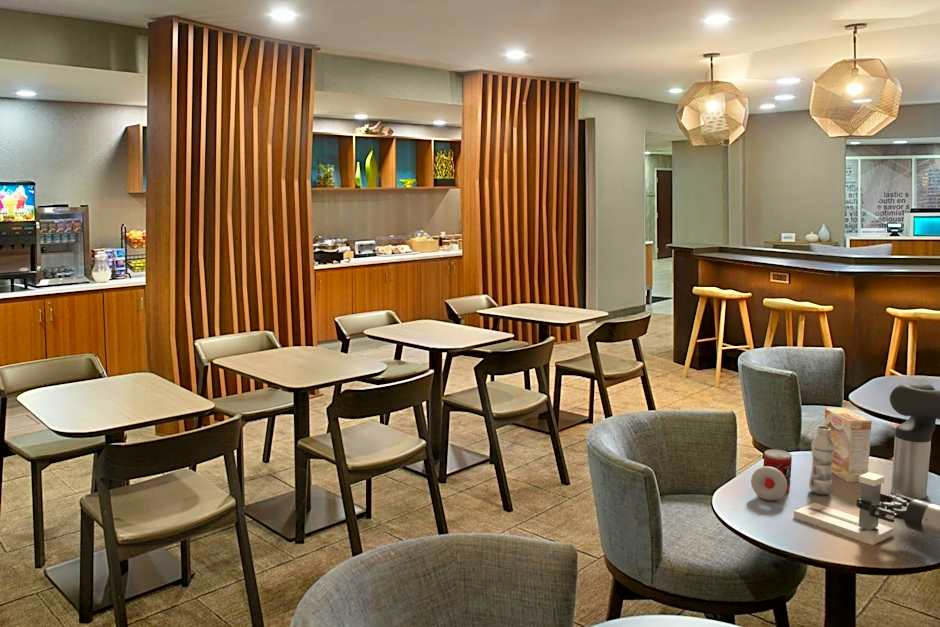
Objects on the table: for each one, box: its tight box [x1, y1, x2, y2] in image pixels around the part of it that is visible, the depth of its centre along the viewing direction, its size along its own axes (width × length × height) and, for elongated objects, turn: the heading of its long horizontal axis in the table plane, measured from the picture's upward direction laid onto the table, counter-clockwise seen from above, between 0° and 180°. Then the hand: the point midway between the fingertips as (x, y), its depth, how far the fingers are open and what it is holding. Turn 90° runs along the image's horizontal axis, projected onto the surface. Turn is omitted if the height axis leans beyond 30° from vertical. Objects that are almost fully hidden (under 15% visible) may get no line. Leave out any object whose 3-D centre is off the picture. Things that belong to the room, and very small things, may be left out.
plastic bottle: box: [808, 425, 835, 495], centre depth 239 cm, size 6×7×20 cm
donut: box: [750, 465, 787, 501], centre depth 235 cm, size 10×4×10 cm, turn 57°
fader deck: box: [793, 502, 894, 546], centre depth 216 cm, size 10×22×2 cm, turn 36°
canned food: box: [763, 449, 793, 493], centre depth 244 cm, size 8×8×11 cm
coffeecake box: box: [823, 407, 873, 483], centre depth 256 cm, size 15×7×20 cm, turn 6°
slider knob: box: [858, 471, 886, 530], centre depth 210 cm, size 5×4×14 cm
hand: (866, 499), depth 210 cm, fingers open, 8 cm apart
